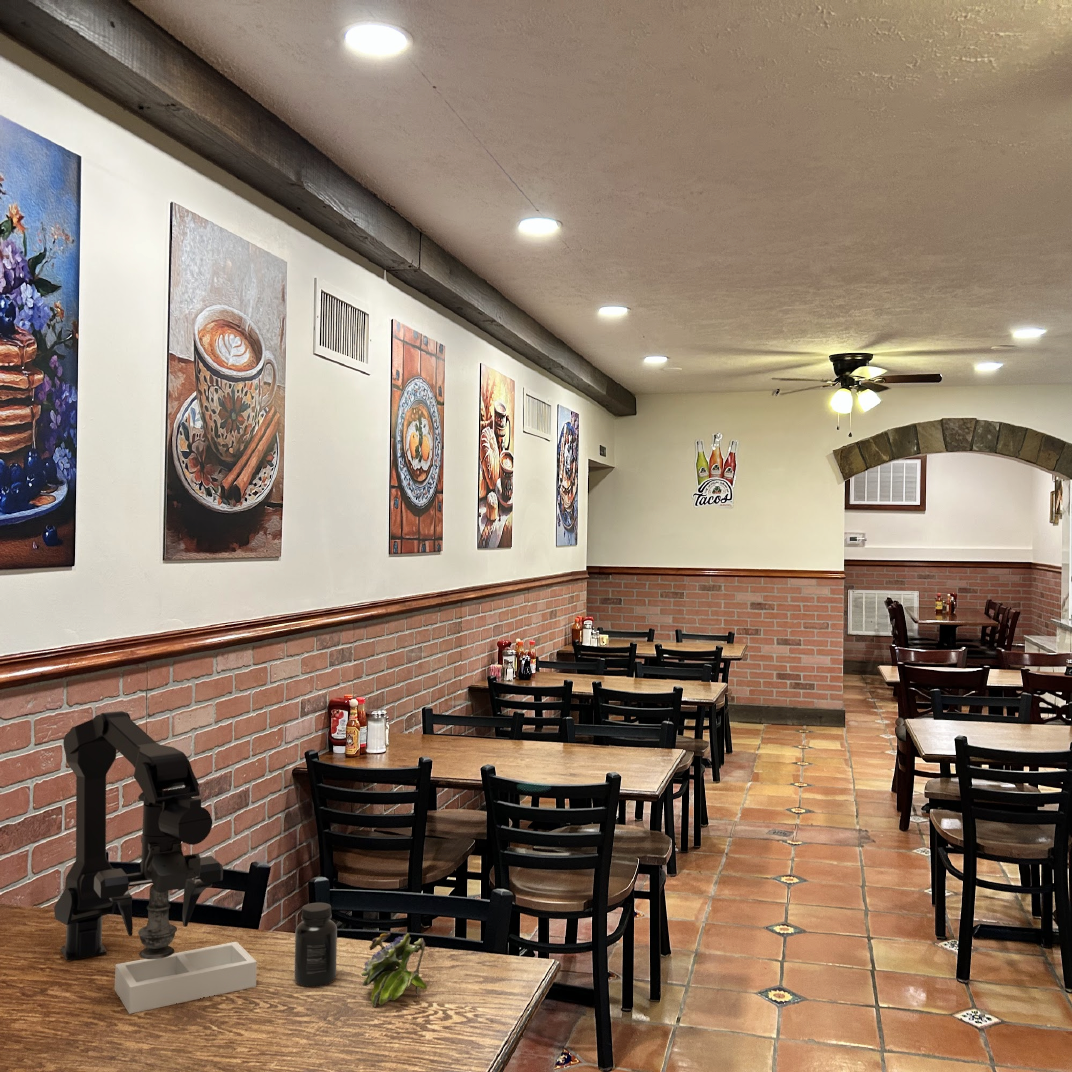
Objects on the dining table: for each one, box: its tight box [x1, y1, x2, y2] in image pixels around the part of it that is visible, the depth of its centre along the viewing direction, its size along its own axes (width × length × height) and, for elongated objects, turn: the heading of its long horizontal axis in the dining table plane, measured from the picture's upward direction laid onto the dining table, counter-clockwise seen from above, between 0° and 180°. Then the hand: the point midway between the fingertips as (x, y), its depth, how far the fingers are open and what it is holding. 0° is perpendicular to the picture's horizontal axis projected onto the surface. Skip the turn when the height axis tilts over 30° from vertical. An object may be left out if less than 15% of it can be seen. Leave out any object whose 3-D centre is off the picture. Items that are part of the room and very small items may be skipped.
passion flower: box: [361, 932, 427, 1008], centre depth 164 cm, size 11×11×12 cm
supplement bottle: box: [293, 902, 338, 988], centre depth 169 cm, size 7×7×12 cm
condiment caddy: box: [114, 941, 258, 1015], centre depth 165 cm, size 10×20×4 cm, turn 124°
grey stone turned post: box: [137, 884, 178, 959], centre depth 162 cm, size 6×6×12 cm
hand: (157, 930), depth 162 cm, fingers closed on grey stone turned post, 8 cm apart
